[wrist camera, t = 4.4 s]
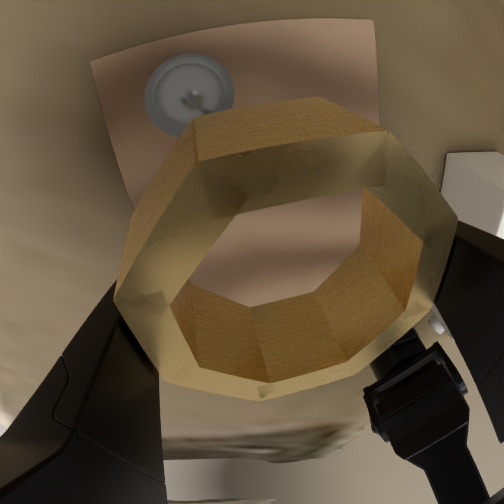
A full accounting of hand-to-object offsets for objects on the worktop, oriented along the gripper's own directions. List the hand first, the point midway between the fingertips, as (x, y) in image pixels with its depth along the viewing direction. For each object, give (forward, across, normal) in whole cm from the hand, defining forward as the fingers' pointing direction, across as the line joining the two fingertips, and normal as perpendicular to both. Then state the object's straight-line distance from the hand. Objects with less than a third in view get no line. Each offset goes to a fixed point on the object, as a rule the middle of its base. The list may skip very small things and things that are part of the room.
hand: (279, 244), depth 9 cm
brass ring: (0, 0, 0) cm, 0 cm away
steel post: (+12, +2, -3) cm, 12 cm away
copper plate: (+12, -1, +4) cm, 12 cm away
